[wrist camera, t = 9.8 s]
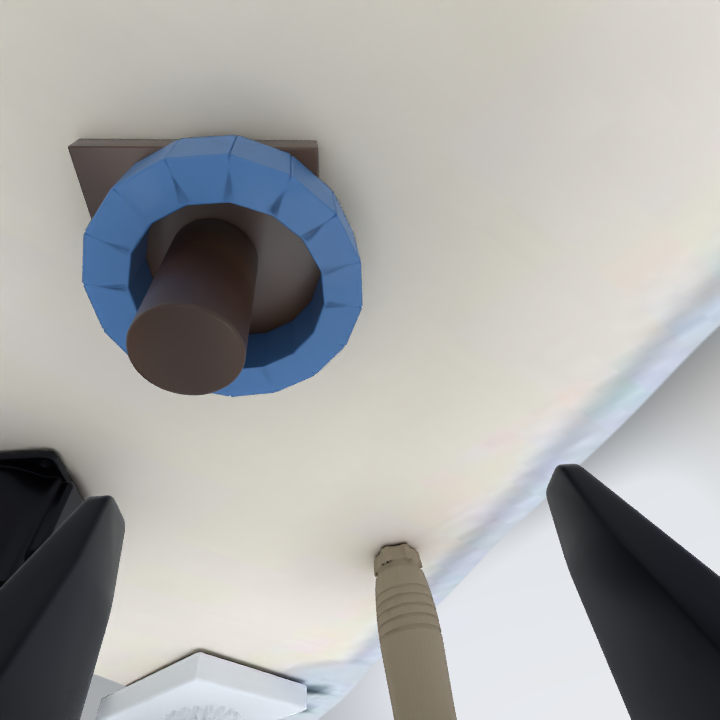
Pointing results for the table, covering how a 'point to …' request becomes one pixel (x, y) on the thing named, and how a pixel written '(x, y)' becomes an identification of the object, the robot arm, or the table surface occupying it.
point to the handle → (411, 638)
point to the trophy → (206, 694)
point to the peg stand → (205, 273)
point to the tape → (247, 189)
